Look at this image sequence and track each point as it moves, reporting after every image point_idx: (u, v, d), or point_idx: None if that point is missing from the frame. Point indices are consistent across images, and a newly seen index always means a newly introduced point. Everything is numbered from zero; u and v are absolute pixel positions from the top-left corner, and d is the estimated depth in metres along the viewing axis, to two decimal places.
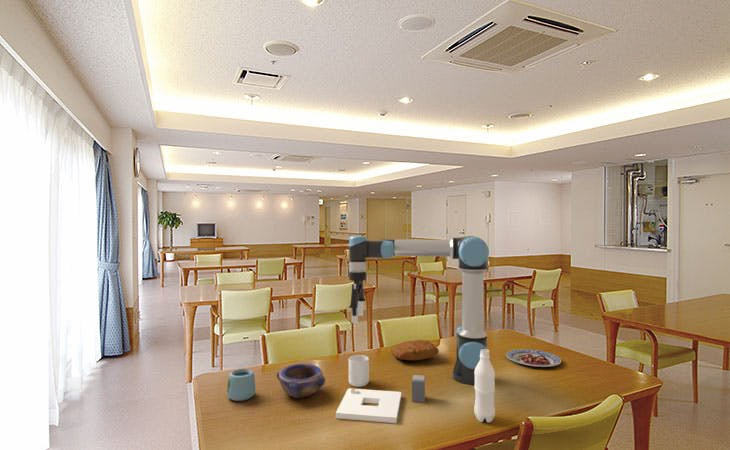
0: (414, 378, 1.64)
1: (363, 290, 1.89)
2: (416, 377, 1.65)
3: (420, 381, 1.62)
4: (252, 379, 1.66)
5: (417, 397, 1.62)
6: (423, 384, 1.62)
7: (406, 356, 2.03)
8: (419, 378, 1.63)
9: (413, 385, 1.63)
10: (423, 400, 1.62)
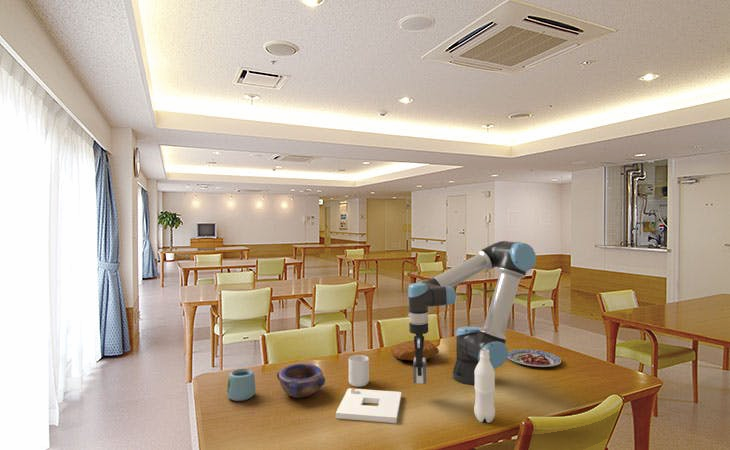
0: (415, 360, 1.64)
1: None
2: None
3: None
4: (252, 379, 1.66)
5: None
6: (424, 366, 1.62)
7: (406, 356, 2.03)
8: None
9: (414, 367, 1.63)
10: (425, 381, 1.62)
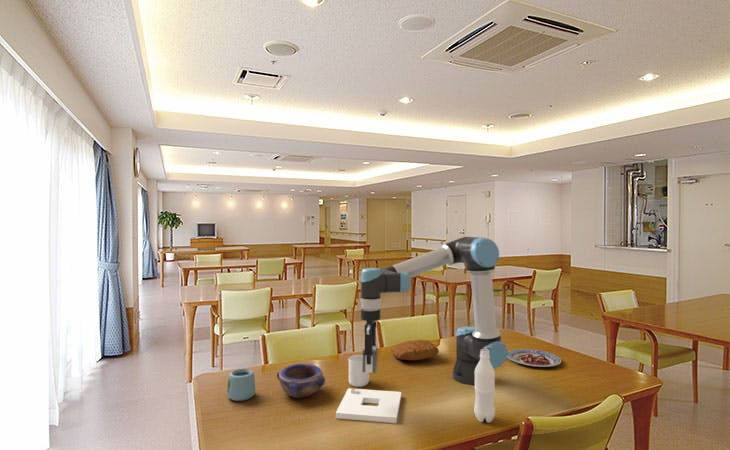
0: None
1: (375, 335, 1.63)
2: None
3: None
4: (252, 379, 1.66)
5: None
6: (374, 354, 1.55)
7: (406, 356, 2.03)
8: None
9: (364, 355, 1.56)
10: (374, 370, 1.55)
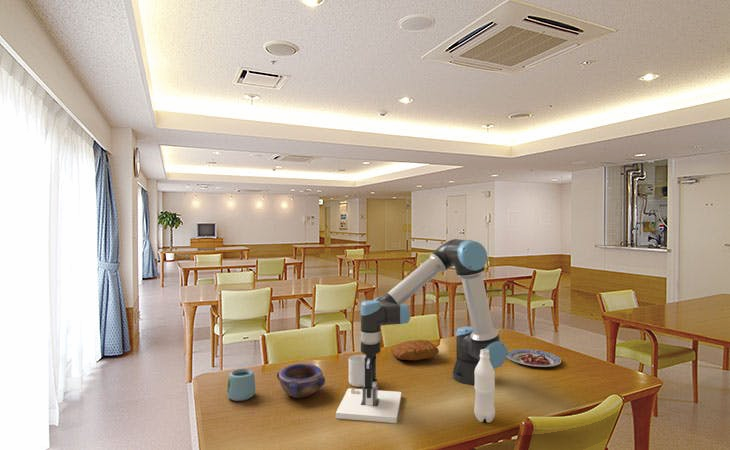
0: None
1: (375, 366, 1.64)
2: None
3: None
4: (252, 379, 1.66)
5: None
6: (374, 392, 1.55)
7: (406, 356, 2.03)
8: None
9: (364, 392, 1.56)
10: None
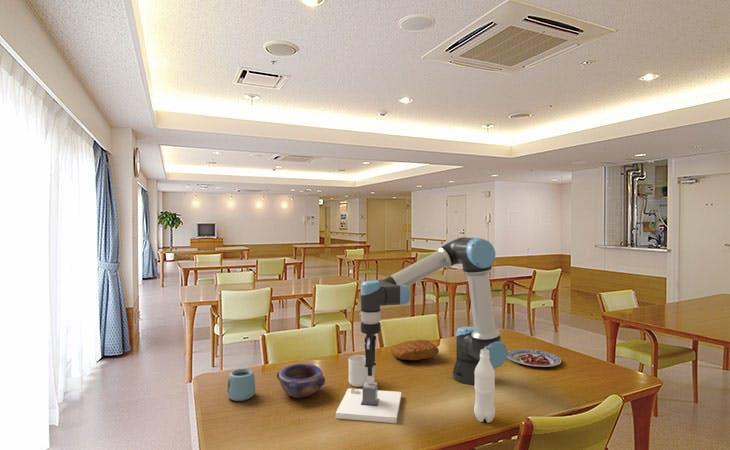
0: (365, 385, 1.57)
1: None
2: (367, 384, 1.58)
3: (371, 388, 1.55)
4: (252, 379, 1.66)
5: (367, 405, 1.56)
6: (374, 392, 1.55)
7: (406, 356, 2.03)
8: (370, 385, 1.56)
9: (364, 392, 1.56)
10: None
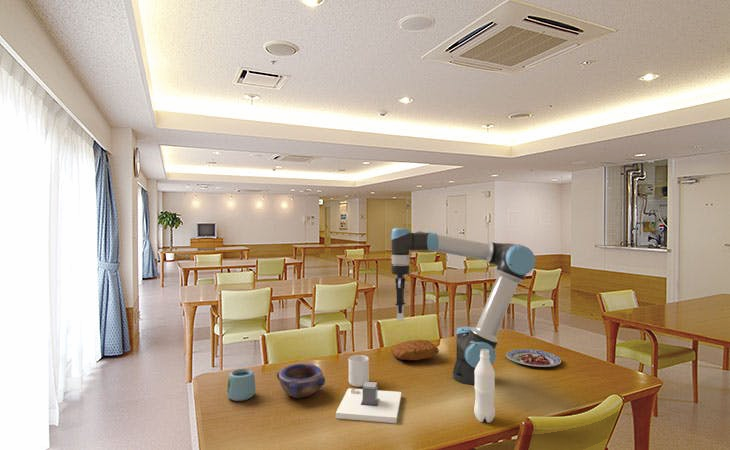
0: (365, 385, 1.57)
1: None
2: (367, 384, 1.58)
3: (371, 388, 1.55)
4: (252, 379, 1.66)
5: (367, 405, 1.56)
6: (374, 392, 1.55)
7: (407, 356, 2.03)
8: (370, 385, 1.56)
9: (364, 392, 1.56)
10: None
